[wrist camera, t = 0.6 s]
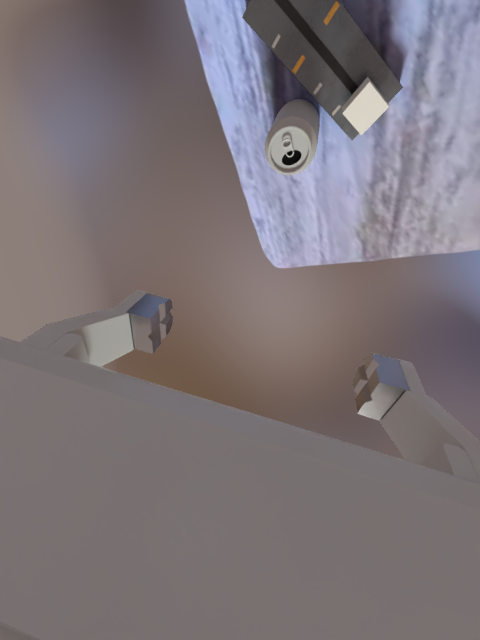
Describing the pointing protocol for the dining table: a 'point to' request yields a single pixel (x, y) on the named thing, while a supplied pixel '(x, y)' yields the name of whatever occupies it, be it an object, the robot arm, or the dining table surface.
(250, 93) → the dining table surface
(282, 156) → the can
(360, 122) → the fader knob
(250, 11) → the fader panel
